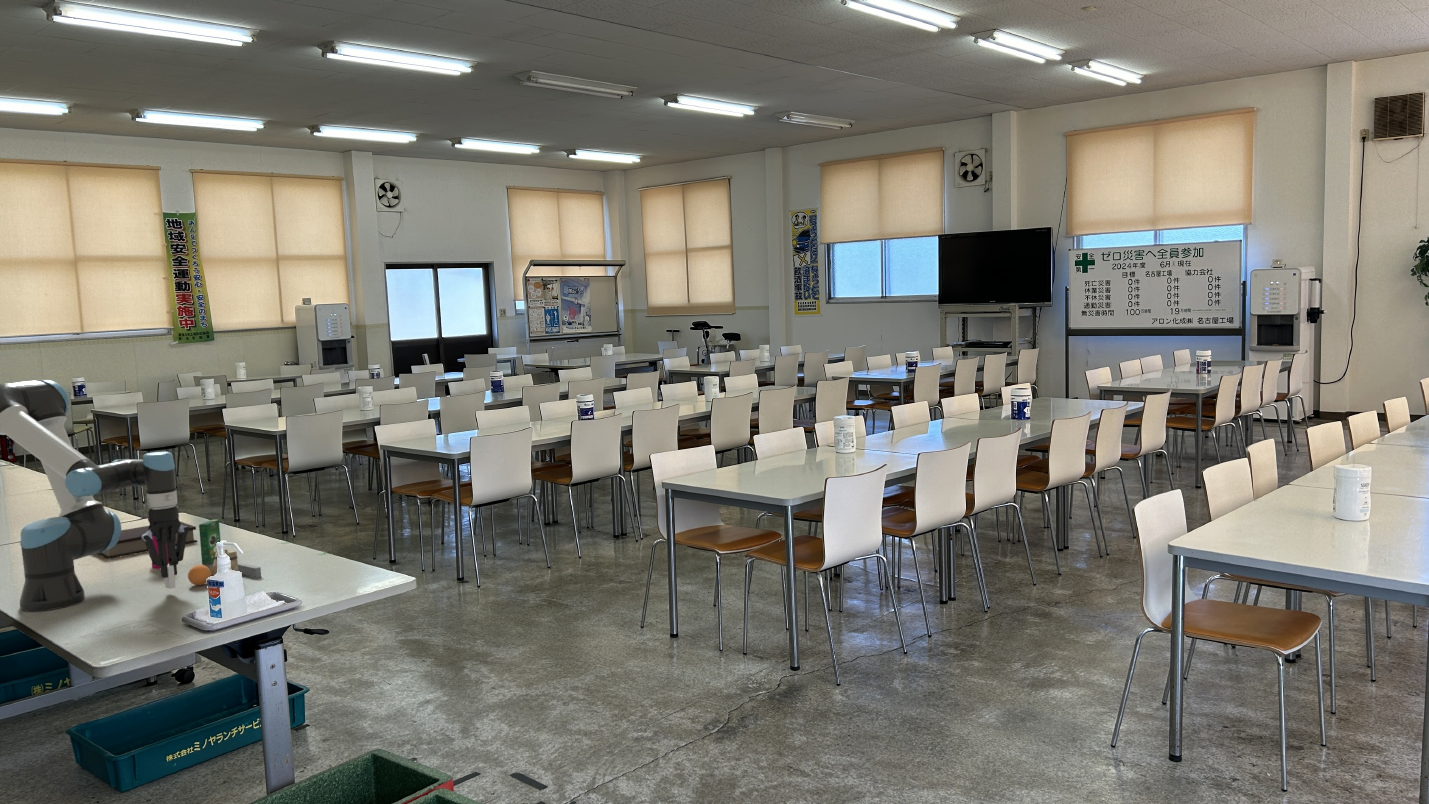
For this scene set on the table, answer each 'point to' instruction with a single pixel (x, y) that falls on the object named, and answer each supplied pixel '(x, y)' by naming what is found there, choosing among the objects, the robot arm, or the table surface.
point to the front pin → (214, 565)
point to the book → (138, 542)
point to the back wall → (249, 570)
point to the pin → (233, 560)
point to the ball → (199, 574)
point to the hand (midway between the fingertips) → (170, 587)
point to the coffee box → (209, 540)
